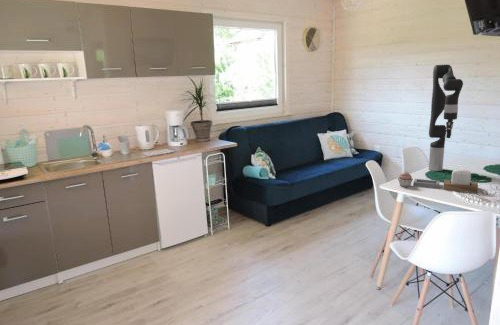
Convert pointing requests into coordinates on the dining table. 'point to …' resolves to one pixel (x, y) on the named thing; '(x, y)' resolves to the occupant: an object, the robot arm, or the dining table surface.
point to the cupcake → (405, 179)
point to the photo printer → (461, 177)
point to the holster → (426, 183)
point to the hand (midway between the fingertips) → (448, 136)
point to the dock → (460, 186)
